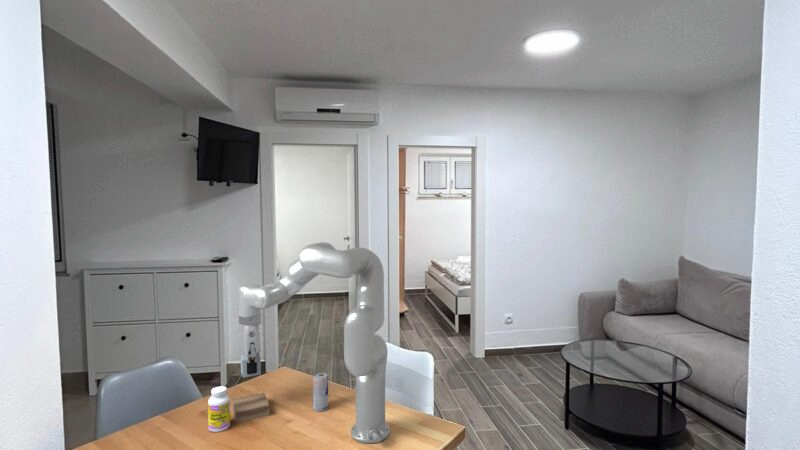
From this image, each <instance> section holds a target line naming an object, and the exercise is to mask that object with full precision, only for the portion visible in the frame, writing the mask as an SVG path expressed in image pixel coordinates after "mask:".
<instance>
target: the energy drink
mask: <svg viewBox="0 0 800 450" xmlns="http://www.w3.org/2000/svg"><path fill="white" fill-rule="evenodd" d="M328 408H329V376H328V374H327V373H326V372H318V373H315V374H314V375H313V377H312V409H313V410H314V411H315V412H319V413H320V412H324V411H326V410H327V409H328Z"/></svg>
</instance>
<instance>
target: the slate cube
mask: <svg viewBox="0 0 800 450" xmlns="http://www.w3.org/2000/svg"><path fill="white" fill-rule="evenodd" d="M249 354H250V353H249ZM250 357H251V355H249V358H250ZM261 359H262V358H261V355H260V353H257V352H256V361H257V373H254V374H247V363H248V358H247V355H246V354H245V353H244V354H240V373H241V377H242V378H248V377H254V376H260V375H262V374H261V373H262V361H261Z"/></svg>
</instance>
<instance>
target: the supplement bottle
mask: <svg viewBox="0 0 800 450" xmlns="http://www.w3.org/2000/svg"><path fill="white" fill-rule="evenodd" d="M227 389H228V388H227V387H226V386H224V385H220V386H216V387H212V388H211V391H210V392H211V393H210V394H211V396H210V397H209V398H208V401H207V426H208V427H207V429H208V431H210V432H214V433H219V432H222V431H224V430H225V431H226V430H227V429H229V427H230V426H231V397H230V395H229V394H227V392H228V390H227Z"/></svg>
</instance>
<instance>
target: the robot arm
mask: <svg viewBox="0 0 800 450" xmlns="http://www.w3.org/2000/svg"><path fill="white" fill-rule="evenodd" d="M287 272H288V273H287V274H286V275H285V276H283V277H282V278H281V279H279V280H278V281H276V282H274V283H270V284H267V285H262V286H261V285H260V284H257V283H245V284H241V285H240V286H238V290H237V291H238V292H237V293H238V295H237V296H238V297H237V298H238V326H240V327H242V328H241V330H242V347H243V350H244V354H246V355H247V358H248V363H247V374H254V373H257V361H256V352H257V353H259V354H260V353H261V338H260V337H261V336H260V335H261V334H260V326H259V325H261V324H262V310H265V309H270V308H271V307H275V306H277V305H280V304H282V303H284V302H286V301H288V300H289V299H290V298H292V297H293V296H295V295H296V294H297V293H299V291H301V290H302V289H303V288H304V287H305V286H306V285H307V284H308V283H310V282H311V281H312V280H313V279H315V278H316V277H318V276H319V275H322V276H328V277H332V278H336V279H337V278H338V279H350V278H352V277H354V276H357V275H358V282H357V283H358V284H357V289H356V292H357V293H356V294H357V295H356V297H357V300H356V308H354V309H353V310H351V311H350V312H349V313H348V314H347V316H346V318H345V321H344V324H343V325H344V326H343V360H344V364H345V368H346V369H347V371H348V372H349V373H350V375H352V376H354V377H355V423H354V424H353V425H352V426H351V429H350V436H351V437H352V438H353V439H354V440H355V441H357V442H360V443H363V444H375V443H380V442H383V441H384V440H386V439H387V438H388V437H389V436H390V433H391V428H390V426H389V424H388V423H387V422H386V372H387V362H388V346H387V343H386V340H385V339H384V338H383V337H382V335H378V334H376V333H377V332H378V331H379V330H380V329H381V328H383V327H382V326H383V325H384V322H385V274H384V267H383V263H382V261H381V259H380V258H379V256H378V255H377V254H376V253H375V252H373V251H372V250H370V249H369V248H365V247H351V248H347V249H345V250H342V249H336V247H335V246H334V245H332V243H328V242H316V243H310V244H307V245H306V246H304V247H303V248H302V249H301V250H300V252H299V255H298V258H297V259H294V261H292V262H291V263H290V264H289V265H288V269H287ZM249 353H250V354H249ZM249 355H251V357H250V358H249Z"/></svg>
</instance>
